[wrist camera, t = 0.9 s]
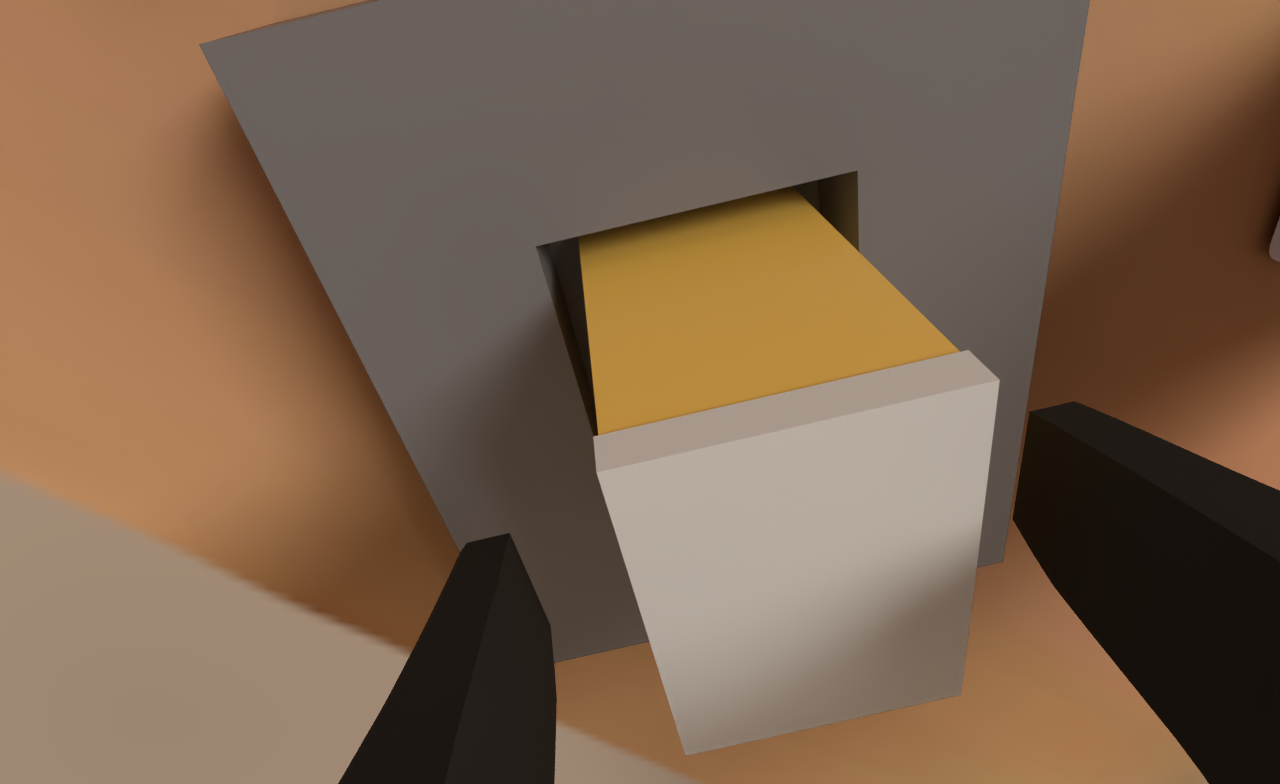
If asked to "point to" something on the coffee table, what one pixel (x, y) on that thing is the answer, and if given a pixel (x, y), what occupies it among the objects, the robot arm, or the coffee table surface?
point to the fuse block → (640, 209)
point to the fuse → (783, 468)
